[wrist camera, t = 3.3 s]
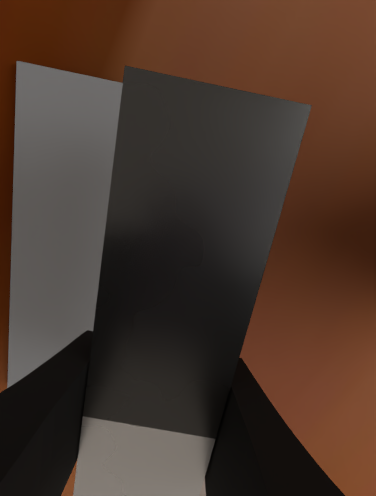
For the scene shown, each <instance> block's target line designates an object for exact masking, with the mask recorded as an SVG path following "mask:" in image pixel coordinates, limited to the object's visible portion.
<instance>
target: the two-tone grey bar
mask: <svg viewBox="0 0 376 496" xmlns="http://www.w3.org/2000/svg"><path fill="white" fill-rule="evenodd" d="M311 106H312V105H307V104H303V103H298V102H293V101H289V100H284V99H279V98H274V97H270V96H265V95H260V94H256V93H251V92H246V91H242V90H237V89H232V88H228V87H223V86H218V85H213V84H209V83H204V82H199V81H195V80H190V79H185V78H181V77H176V76H171V75H167V74H162V73H157V72H152V71H148V70H143V69H138V68H134V67H129V66H125V69H124V77H123V85H122V94H121V102H120V110H119V119H118V127H117V135H116V144H115V152H114V160H113V169H112V177H111V185H110V194H109V202H108V210H107V219H106V227H105V235H104V244H103V252H102V260H101V269H100V277H99V285H98V294H97V302H96V310H95V319H94V327H93V335H92V344H91V352H90V360H89V369H88V377H87V385H86V393H85V402H84V410H83V418H82V427H81V435H80V443H79V452H78V460H77V468H76V477H75V485H74V493H73V496H199V495H200V492H201V488H202V485H203V481H204V478H205V475H206V471H207V468H208V464H209V461H210V457H211V454H212V450H213V447H214V443H215V440H216V436H217V433H218V429H219V426H220V422H221V419H222V415H223V412H224V408H225V405H226V402H227V398H228V395H229V391H230V388H231V384H232V381H233V377H234V374H235V370H236V367H237V363H238V360H239V356H240V353H241V349H242V346H243V342H244V339H245V335H246V332H247V328H248V325H249V322H250V318H251V315H252V311H253V308H254V304H255V301H256V297H257V294H258V290H259V287H260V283H261V280H262V276H263V273H264V269H265V266H266V262H267V259H268V255H269V252H270V249H271V245H272V242H273V238H274V235H275V231H276V228H277V224H278V221H279V217H280V214H281V210H282V207H283V203H284V200H285V196H286V193H287V189H288V186H289V182H290V179H291V175H292V172H293V169H294V165H295V162H296V158H297V155H298V151H299V148H300V144H301V141H302V137H303V134H304V130H305V127H306V123H307V120H308V116H309V113H310V109H311Z"/></svg>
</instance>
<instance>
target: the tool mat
mask: <svg viewBox="0 0 376 496" xmlns="http://www.w3.org/2000/svg"><path fill="white" fill-rule="evenodd" d="M122 85H123V83H120V82H115V81H111V80H106V79H101V78H96V77H92V76H87V75H82V74H77V73H73V72H68V71H63V70H58V69H54V68H49V67H44V66H39V65H35V64H30V63H25V62H20V61H17V67H16V102H15V138H14V173H13V209H12V244H11V279H10V315H9V350H8V386H7V388H8V387H10V386H12V385H13V384H15V383H16V382H18V381H19V380H21V379H22V378H24V377H25V376H26V375H28V374H29V373H31V372H32V371H33V370H35V369H36V368H37V367H39V366H40V365H42V364H43V363H44V362H46V361H47V360H49V359H50V358H51V357H53V356H54V355H55V354H57V353H58V352H59V351H60V350H62V349H63V348H64V347H66V346H67V345H68V344H69V343H71V342H72V341H73V340H75V339H76V338H77V337H78V336H80V335H81V334H82V333H84V332H85V331H87V330H89V331H93V327H94V319H95V310H96V302H97V294H98V285H99V277H100V269H101V260H102V252H103V244H104V235H105V227H106V219H107V210H108V202H109V194H110V185H111V177H112V169H113V160H114V152H115V144H116V135H117V127H118V119H119V110H120V102H121V94H122Z"/></svg>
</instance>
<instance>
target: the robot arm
mask: <svg viewBox="0 0 376 496" xmlns="http://www.w3.org/2000/svg"><path fill="white" fill-rule="evenodd" d="M92 335H93V331H89V330H87V331H85V332H84V333H82V334H81V335H80V336H78V337H77V338H76V339H75V340H73V341H72V342H71V343H69V344H68V345H67V346H66V347H64V348H63V349H62V350H60V351H59V352H58V353H57V354H55V355H54V356H53V357H51V358H50V359H49V360H47V361H46V362H44V363H43V364H42V365H40V366H39V367H37V368H36V369H35V370H33V371H32V372H31V373H29V374H28V375H26V376H25V377H24V378H22V379H21V380H19V381H18V382H16V383H15V384H13V385H12V386H10V387H8V388H7V389H5V390H4V391H2V392H1V393H0V496H61V494H62V492H63V490H64V487H65V485H66V483H67V481H68V479H69V476H70V474H71V472H72V470H73V467H74V465H75V463H76V461H77V458H78V452H79V443H80V435H81V427H82V418H83V410H84V402H85V393H86V385H87V377H88V369H89V360H90V352H91V344H92ZM205 490H206V496H345V495H344V494H343V493H342V492H341V491H340V489H339V488H338V487H337V486H336V485H335V484H334V483H333V482H332V481H331V479H330V478H329V477H328V476H327V475H326V474H325V472H324V471H323V470H322V469H321V468H320V466H319V465H318V464H317V463H316V462H315V460H314V459H313V458H312V457H311V455H310V454H309V453H308V452H307V450H306V449H305V448H304V447H303V445H302V444H301V443H300V441H299V440H298V439H297V438H296V436H295V435H294V434H293V432H292V431H291V430H290V428H289V427H288V426H287V424H286V423H285V422H284V420H283V419H282V418H281V416H280V415H279V413H278V412H277V410H276V409H275V408H274V406H273V405H272V403H271V402H270V400H269V399H268V398H267V396H266V395H265V393H264V392H263V390H262V389H261V387H260V386H259V384H258V383H257V381H256V379H255V378H254V376H253V375H252V373H251V372H250V370H249V369H248V367H247V366H246V364H245V363H244V361H243V360H242V358H239V360H238V363H237V367H236V370H235V374H234V377H233V381H232V384H231V388H230V391H229V395H228V398H227V402H226V405H225V408H224V412H223V415H222V419H221V422H220V426H219V429H218V433H217V436H216V440H215V443H214V447H213V450H212V454H211V457H210V461H209V464H208V468H207V471H206V475H205Z"/></svg>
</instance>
